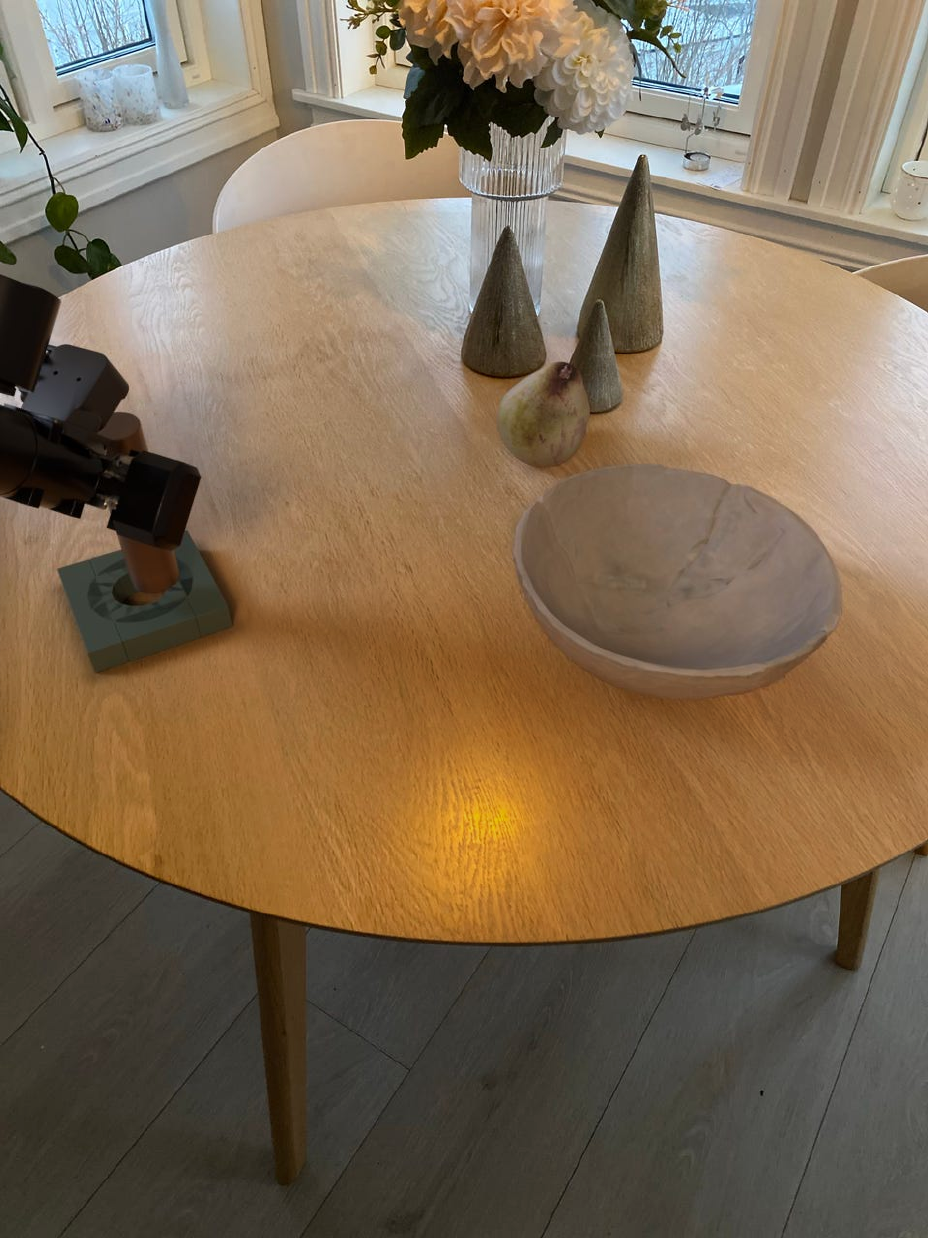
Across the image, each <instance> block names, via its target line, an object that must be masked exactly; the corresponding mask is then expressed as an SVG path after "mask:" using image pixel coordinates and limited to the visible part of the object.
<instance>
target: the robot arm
mask: <svg viewBox="0 0 928 1238" xmlns="http://www.w3.org/2000/svg"><path fill="white" fill-rule="evenodd" d="M61 305H62V300H61V298H60V297H58V296H57V295H55V294H53V293H52V292H50V291H48V290H47V289H45V288H42V287H40V286H37V285H34V284H29V283H25V282H23V281H22V282H21V281H19V280H17V279H14V278H11V277H9V276H7V275H4V274H0V394H2V395H4V396H5V395H6V396H10V397H15V396H16V393H17V390H18V391H19V392H20V396H19V397H20V401H21V402H22V405H21V407H19V406H15V405H13V404H9V403H4V404H0V498H2V499H6V500H9V501H12V502H14V503H18V504H21V505H24V506H27V507H31V508H34V509H40V508H43V509H47V510H50V511H53V512H56V513H57V514H61V515H64V516H67V517H71V518H74V519H78V520H81V519H82V515H83V512H84V509H85V505H87V506H91V507H93V508H96V509H98V510H104V511H105V510H107V509H108V503H109V500H110V501H113V502H112V503H111V508H112V511H111V514H110V513H109V514H110V515H109V518H108V521H107V524H106V529H108V530H111V531H115V533H116V532H117V534H116V536H117V535H120V536H123V537H126V538H129V539H132V540H135V541H138V542H141V543H144V544H146V545H149V546H152V547H155V548H159V549H164V550H168V551H173V550H174V549H176V548H178V547H179V546H180V545H181V542H182V538H183V535H184V532H185V530H187V529H186V528H187V525H188V522H189V518H190V515H191V513H192V510H193V505H194V503H195V500H196V495H197V492H198V490H199V487H200V484H201V481H202V476H201V473H200V470H199V468H198V467H197V466H194V465H191V464H189V463H186V462H184V461H181V460H177V459H175V458H171V457H168V456H164V455H161V454H158V453H154V452H151V451H149V450H148V451H145V450H143V451H141V452H138V451H135V450H132V449H131V450H130V453H129V456H128V455H125V454H117V455H116V456H115V457H114V458H113V459H112V460H108V459H105V458H102V457H100V455H102V456H105V455H106V453H107V450H108V447H109V444H110V440H111V439H110V438H107V437H104V436H102V435H99V434H97V433H98V432H99V431H101V430H102V429H103V428H104V427H105V426H106V424H107V423H108V421H109V420H110V418H111V416H112V415H113V413H114V412H116V410H117V408H118V407H119V405H120V403H121V402H122V401H123V400H125V399H126V397H127V396H128V394H129V392H130V385H129V383H128V382H127V380H126V379H125V378H124V376H122V374H121V373H120V372H119V370H118V369H117V368H116V366H115V365H114V364H113V363H112V362H111V360H110V358H109V357H108V356H107V355H106V354H104V353H102V352H98V351H95V350H91V349H87V348H85V347H84V348H83V347H80V346H76V345H73V344H68V343H64V344H63V343H62V344H60V345H57V346H56V345H54V344H50V341H51V338H52V334H53V331H54V329H55V325H56V322H57V318H58V315H59V311H60V309H61ZM102 472H103V473H106V474H109V475H111V477H110V478H107V477H104V476H102ZM113 472H115V473H118V474H115V473H113ZM120 474H121V475H120ZM103 491H104V492H106V494H105V495H104V492H103Z"/></svg>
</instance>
